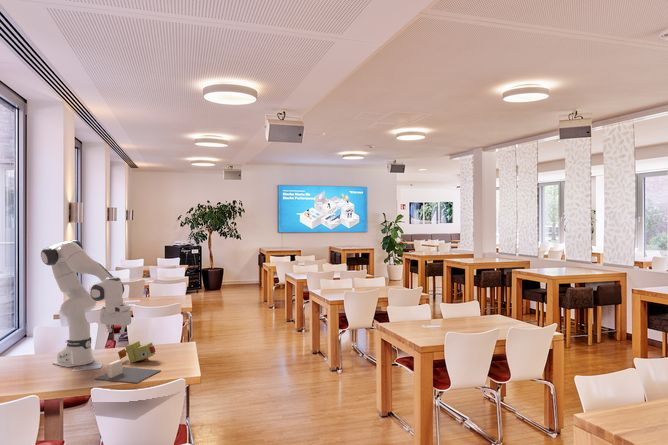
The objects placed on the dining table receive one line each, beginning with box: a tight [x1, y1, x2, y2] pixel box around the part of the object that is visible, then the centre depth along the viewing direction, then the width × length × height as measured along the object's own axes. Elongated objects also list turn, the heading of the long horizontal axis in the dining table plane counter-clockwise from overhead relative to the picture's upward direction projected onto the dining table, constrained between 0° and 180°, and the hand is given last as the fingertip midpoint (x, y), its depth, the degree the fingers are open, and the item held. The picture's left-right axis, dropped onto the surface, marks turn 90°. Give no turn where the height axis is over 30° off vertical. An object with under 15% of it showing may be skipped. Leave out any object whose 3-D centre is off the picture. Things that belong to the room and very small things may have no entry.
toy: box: [117, 340, 157, 364], centre depth 287 cm, size 9×12×20 cm
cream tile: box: [107, 359, 123, 378], centre depth 260 cm, size 2×8×7 cm, turn 164°
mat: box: [94, 366, 162, 384], centre depth 262 cm, size 26×20×1 cm
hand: (116, 332), depth 262 cm, fingers open, 8 cm apart
